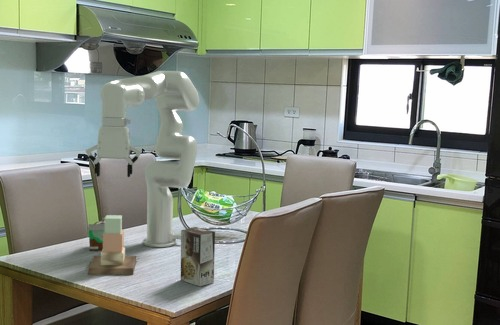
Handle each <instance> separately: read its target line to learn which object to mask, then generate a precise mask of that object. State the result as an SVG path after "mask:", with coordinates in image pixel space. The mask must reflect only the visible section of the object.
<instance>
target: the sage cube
mask: <svg viewBox="0 0 500 325" xmlns="http://www.w3.org/2000/svg"><path fill="white" fill-rule="evenodd" d="M104 218H105V234H121V231H122V230H123V229H122V228H123V226H122V225H123V215H121V214H119V215H115V214H114V215H113V214H107V215H105V217H104Z"/></svg>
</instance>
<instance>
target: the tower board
mask: <svg viewBox="0 0 500 325" xmlns="http://www.w3.org/2000/svg"><path fill="white" fill-rule="evenodd" d="M136 265H137V255H125V260H124V263H123V265H101V255H94V256H93V257H92V259H91V262H90V263H89V265H88V267H87V275H88V276H89V275H134V272H135V267H136Z"/></svg>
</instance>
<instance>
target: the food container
mask: <svg viewBox="0 0 500 325" xmlns="http://www.w3.org/2000/svg"><path fill="white" fill-rule="evenodd" d="M101 219H102V220H100V221H95V223H92V224H90V223H88V228H87V230H88V238H89V252H101V250H102V249H103V233H104V231H105V217H102V218H101Z"/></svg>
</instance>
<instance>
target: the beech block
mask: <svg viewBox="0 0 500 325" xmlns="http://www.w3.org/2000/svg"><path fill="white" fill-rule="evenodd" d="M100 256H101V265H123V263H124V260H125V256H126V247H125V246H124V248H123V251H122V253H119V252H103V249H102V251H100Z"/></svg>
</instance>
